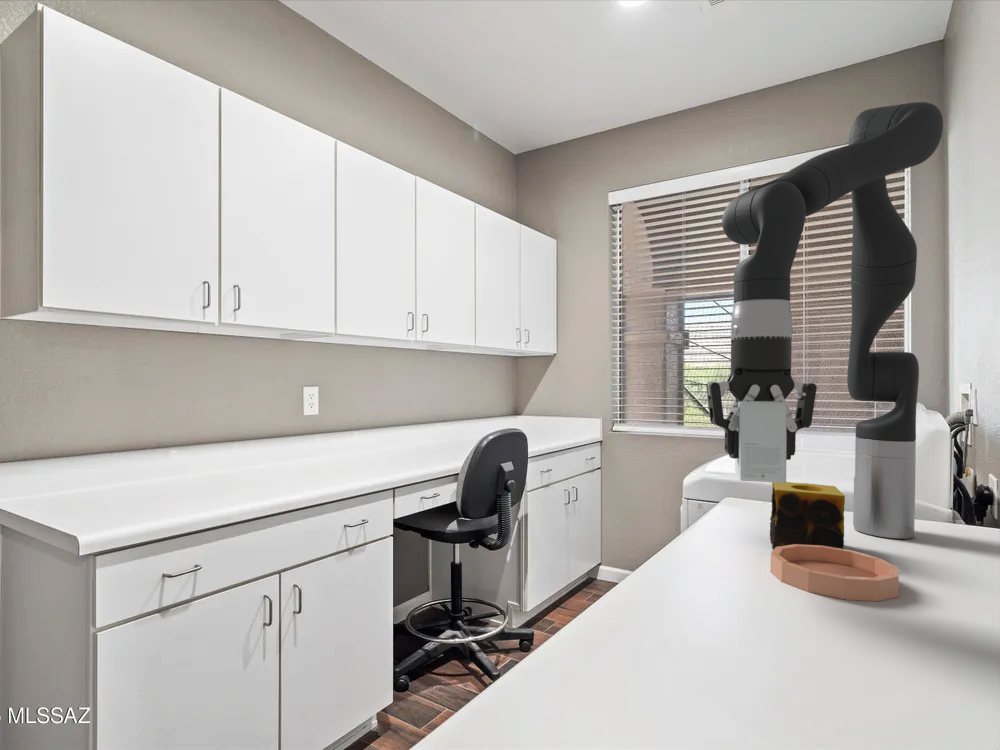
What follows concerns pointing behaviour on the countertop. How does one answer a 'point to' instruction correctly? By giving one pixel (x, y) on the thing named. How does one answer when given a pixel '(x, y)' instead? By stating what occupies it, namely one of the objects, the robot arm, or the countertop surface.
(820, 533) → the yellow and black cube
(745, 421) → the small box
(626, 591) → the countertop surface
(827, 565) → the round tray
